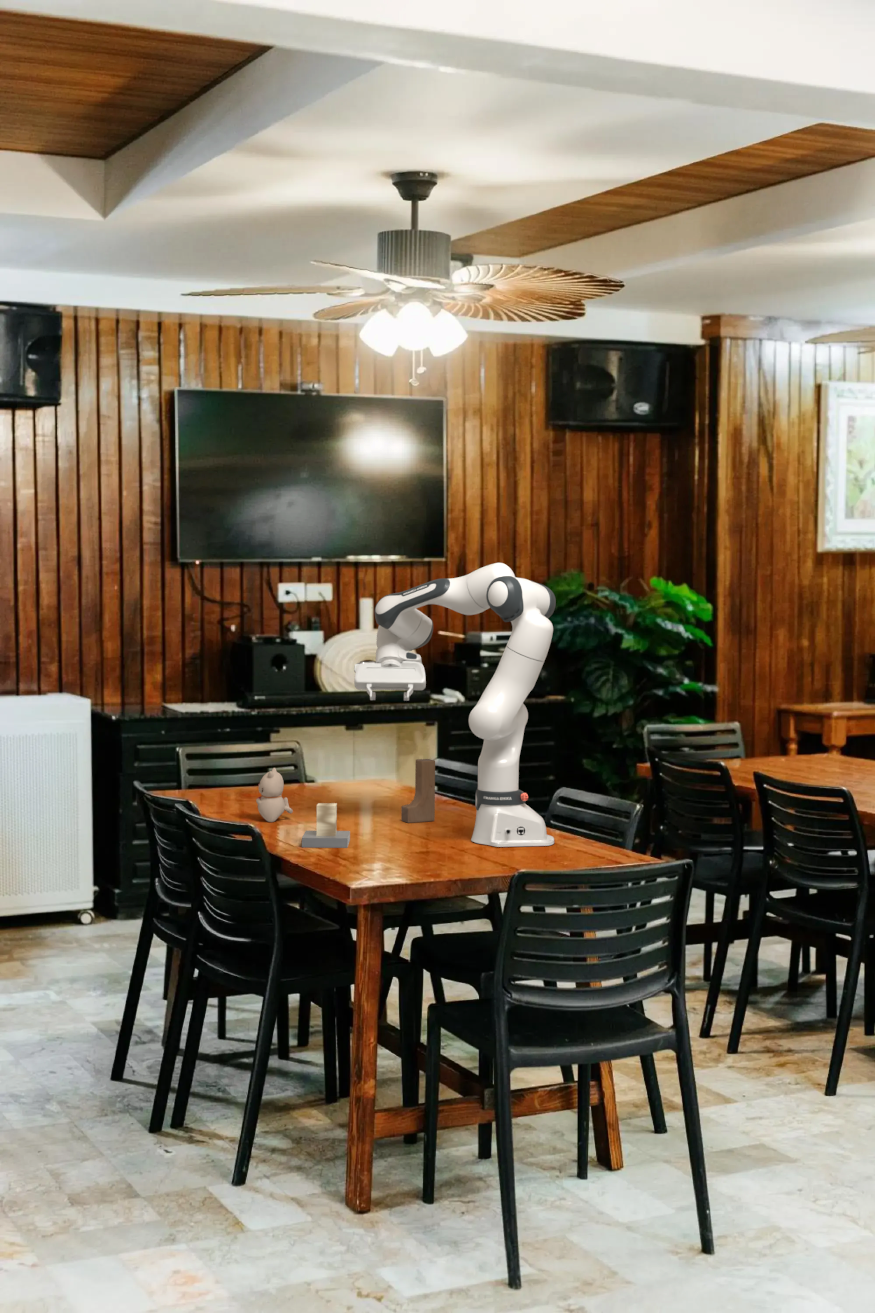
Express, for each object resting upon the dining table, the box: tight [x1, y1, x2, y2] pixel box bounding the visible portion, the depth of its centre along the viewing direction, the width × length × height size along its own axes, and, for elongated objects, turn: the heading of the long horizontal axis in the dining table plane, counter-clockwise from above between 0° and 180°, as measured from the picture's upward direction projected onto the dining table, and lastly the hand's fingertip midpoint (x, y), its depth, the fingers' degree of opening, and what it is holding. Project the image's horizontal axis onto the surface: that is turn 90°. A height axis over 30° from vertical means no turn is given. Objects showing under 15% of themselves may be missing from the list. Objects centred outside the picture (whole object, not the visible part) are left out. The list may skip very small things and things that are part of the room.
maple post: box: [316, 802, 338, 836], centre depth 409 cm, size 5×5×8 cm
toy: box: [255, 767, 294, 823], centre depth 449 cm, size 12×10×15 cm
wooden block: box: [400, 758, 436, 824], centre depth 449 cm, size 9×4×18 cm, turn 118°
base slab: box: [301, 830, 351, 849], centre depth 409 cm, size 12×12×2 cm
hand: (389, 699), depth 428 cm, fingers open, 8 cm apart
